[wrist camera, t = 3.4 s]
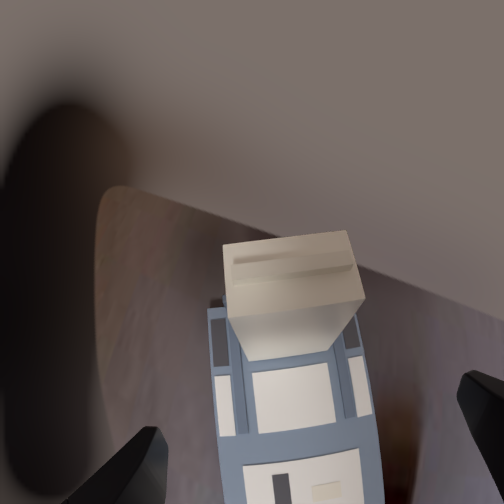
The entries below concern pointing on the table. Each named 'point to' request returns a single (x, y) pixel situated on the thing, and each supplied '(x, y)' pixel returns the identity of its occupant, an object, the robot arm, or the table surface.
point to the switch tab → (291, 293)
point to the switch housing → (294, 422)
